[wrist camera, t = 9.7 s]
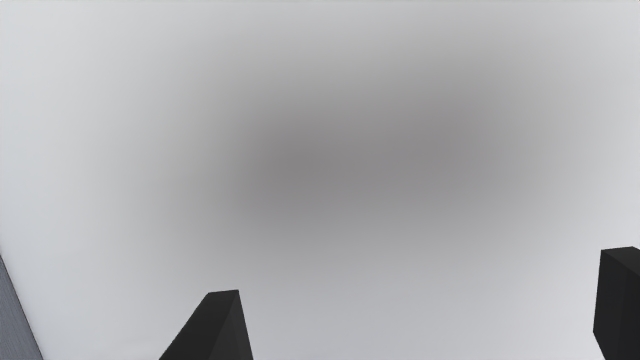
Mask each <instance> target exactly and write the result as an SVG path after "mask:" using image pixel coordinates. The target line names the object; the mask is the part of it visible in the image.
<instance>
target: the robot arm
mask: <svg viewBox="0 0 640 360" xmlns="http://www.w3.org/2000/svg"><path fill="white" fill-rule="evenodd" d="M593 333H594V336H595V338H596V340H597V342H598V345H599V347H600V349H601V351H602V354H603V356H604V358H605V360H640V250H639V249H637V248H635V247H633V246H632V247H622V248H613V249H604V250H601V256H600V266H599V276H598V287H597V297H596V307H595V317H594V327H593ZM159 360H253V356H252V351H251V347H250V342H249V337H248V333H247V328H246V323H245V319H244V314H243V309H242V305H241V300H240V295H239V291H238V290H229V291H220V292H210V293H208V294H207V295H206V296H205V297H204V299H203V300H202V301H201V303H200V304H199V305H198V307H197V308H196V310H195V311H194V313H193V314H192V315H191V317H190V318H189V320H188V321H187V322H186V324H185V325H184V327H183V328H182V329H181V331H180V332H179V334H178V335H177V336H176V338H175V339H174V340H173V342H172V343H171V344H170V346H169V347H168V348H167V350H166V351H165V352H164V354H163V355H162V356H161V357H160V359H159Z"/></svg>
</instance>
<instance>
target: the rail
mask: <svg viewBox="0 0 640 360" xmlns="http://www.w3.org/2000/svg"><path fill="white" fill-rule="evenodd" d="M0 360H43V359H42V357H41V354H40V352H39V349H38V347H37V345H36V342H35V340H34V337H33V335H32V332H31V330H30V327H29V325H28V323H27V320H26V318H25V315H24V313H23V310H22V308H21V306H20V303H19V301H18V298H17V296H16V293H15V291H14V288H13V286H12V284H11V281H10V279H9V276H8V274H7V271H6V269H5V267H4V264H3V262H2V259H1V257H0Z"/></svg>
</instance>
